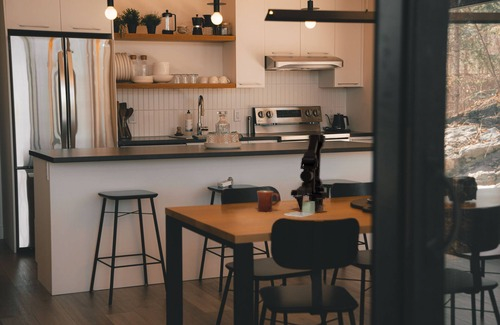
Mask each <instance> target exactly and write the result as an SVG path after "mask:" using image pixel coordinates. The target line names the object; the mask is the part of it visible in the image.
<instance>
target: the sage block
mask: <svg viewBox="0 0 500 325" xmlns="http://www.w3.org/2000/svg"><path fill="white" fill-rule="evenodd" d="M301 212H304V213H312V215H313V214H315V213H316V212H315V201H309V200H303V205H302V210H301Z"/></svg>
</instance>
